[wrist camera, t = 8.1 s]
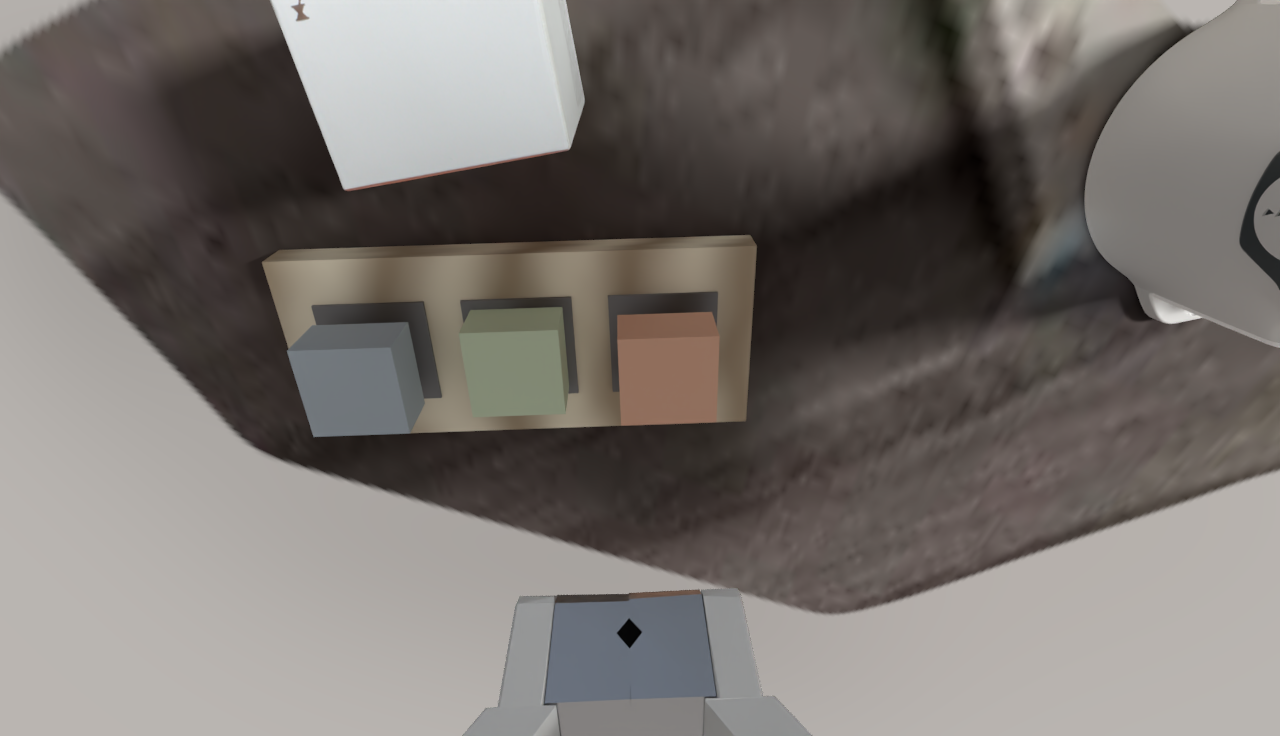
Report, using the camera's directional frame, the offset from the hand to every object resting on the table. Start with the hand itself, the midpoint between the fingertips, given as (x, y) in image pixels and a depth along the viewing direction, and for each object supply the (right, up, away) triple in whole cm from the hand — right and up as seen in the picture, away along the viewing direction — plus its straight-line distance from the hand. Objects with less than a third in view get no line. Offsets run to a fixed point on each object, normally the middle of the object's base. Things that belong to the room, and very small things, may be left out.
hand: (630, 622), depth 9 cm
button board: (-7, +6, +30) cm, 31 cm away
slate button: (-14, +4, +27) cm, 30 cm away
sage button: (-7, +5, +28) cm, 29 cm away
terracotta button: (+2, +4, +27) cm, 27 cm away
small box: (-7, +19, +23) cm, 31 cm away
